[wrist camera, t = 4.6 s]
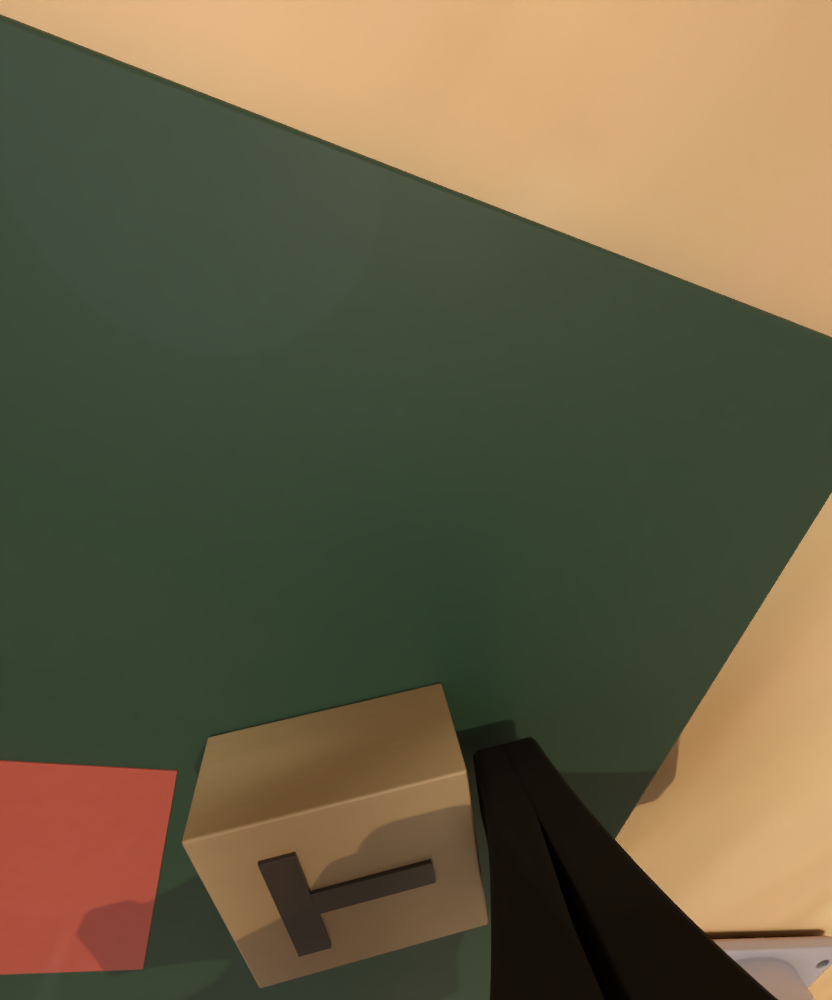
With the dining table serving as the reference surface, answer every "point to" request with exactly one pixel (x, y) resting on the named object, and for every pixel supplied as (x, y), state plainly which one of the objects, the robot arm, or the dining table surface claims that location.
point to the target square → (79, 864)
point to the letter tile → (338, 834)
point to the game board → (354, 475)
